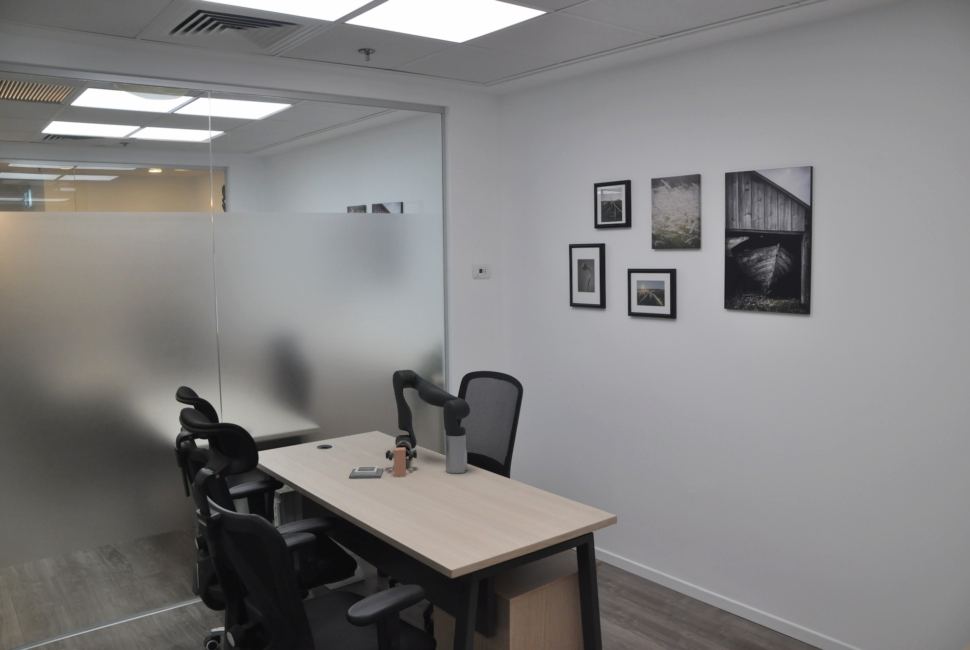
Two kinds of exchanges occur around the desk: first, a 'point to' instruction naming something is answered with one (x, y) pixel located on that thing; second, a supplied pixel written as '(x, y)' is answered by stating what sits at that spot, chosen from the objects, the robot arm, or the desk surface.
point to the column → (399, 462)
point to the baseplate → (366, 472)
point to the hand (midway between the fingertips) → (400, 458)
